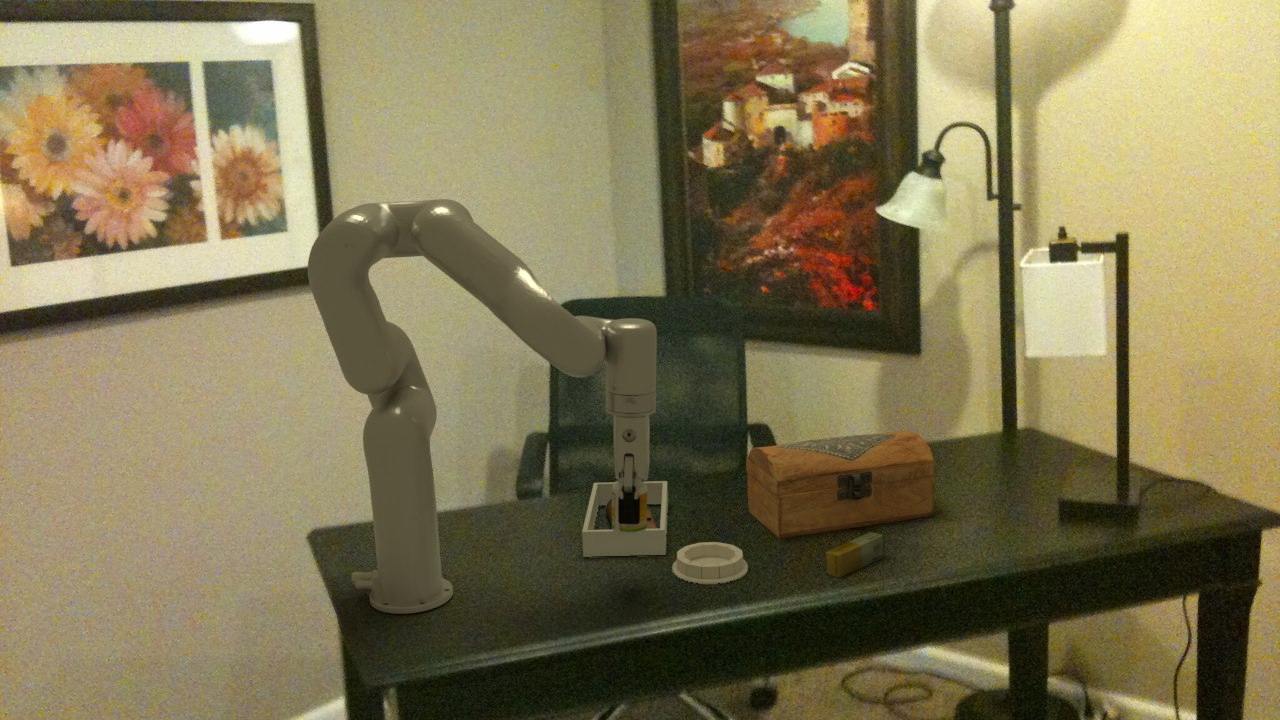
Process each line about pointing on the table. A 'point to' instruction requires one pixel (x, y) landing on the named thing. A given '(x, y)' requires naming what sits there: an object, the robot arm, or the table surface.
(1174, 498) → the table surface
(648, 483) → the frame
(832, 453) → the wooden box
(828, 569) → the medication box
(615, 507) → the supplement bottle
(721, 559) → the coaster tray
